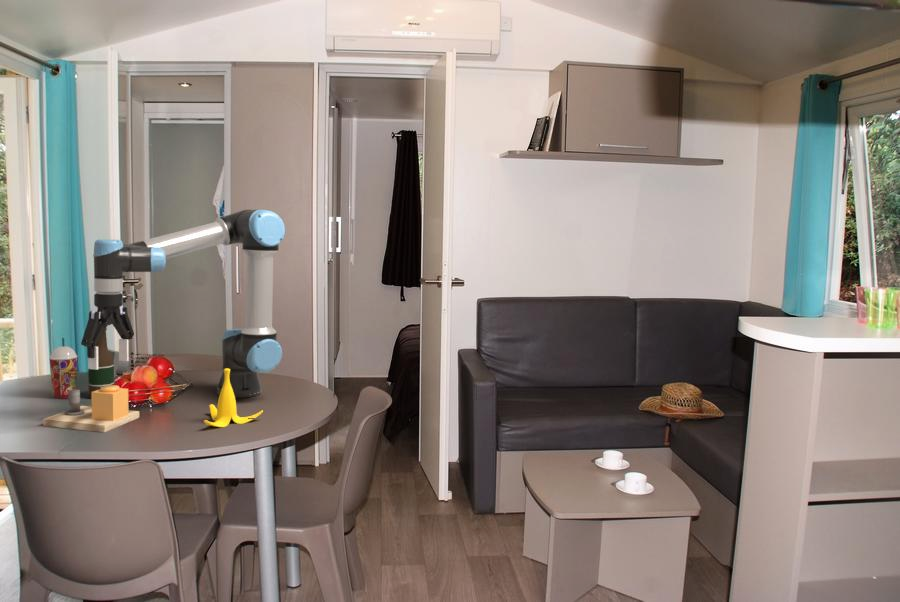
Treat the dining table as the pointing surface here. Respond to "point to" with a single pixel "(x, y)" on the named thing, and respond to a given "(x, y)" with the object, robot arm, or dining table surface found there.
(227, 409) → the banana peel
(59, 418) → the board
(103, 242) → the robot arm
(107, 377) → the beer bottle
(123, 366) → the gray wire basket
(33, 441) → the dining table surface
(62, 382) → the smoothie
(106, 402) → the orange cube with nub
